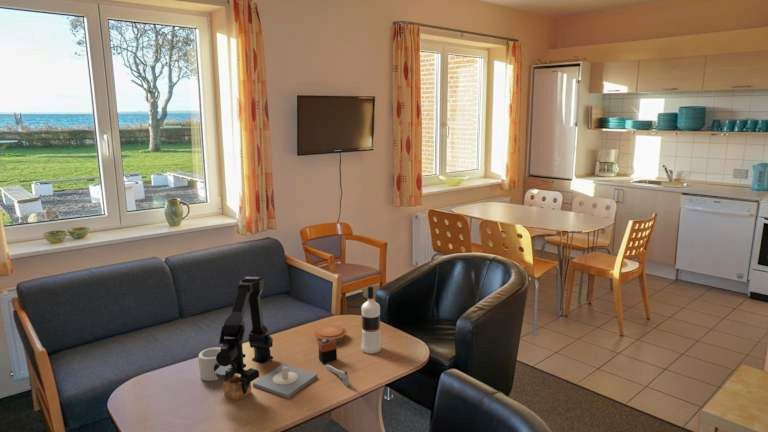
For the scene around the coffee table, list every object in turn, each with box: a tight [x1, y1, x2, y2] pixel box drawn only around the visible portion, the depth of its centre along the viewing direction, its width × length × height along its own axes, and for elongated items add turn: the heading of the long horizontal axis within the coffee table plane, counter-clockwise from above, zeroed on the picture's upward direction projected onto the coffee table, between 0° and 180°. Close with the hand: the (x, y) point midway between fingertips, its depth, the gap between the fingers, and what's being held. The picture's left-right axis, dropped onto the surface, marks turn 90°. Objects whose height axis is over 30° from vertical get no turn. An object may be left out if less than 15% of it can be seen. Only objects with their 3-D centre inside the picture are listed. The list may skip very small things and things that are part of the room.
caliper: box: [324, 363, 350, 388], centre depth 213 cm, size 20×1×6 cm, turn 31°
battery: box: [318, 338, 338, 365], centre depth 225 cm, size 4×7×10 cm, turn 120°
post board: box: [252, 363, 318, 399], centre depth 208 cm, size 18×18×6 cm
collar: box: [223, 374, 252, 401], centre depth 200 cm, size 7×7×6 cm
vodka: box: [360, 286, 383, 355], centre depth 233 cm, size 9×9×30 cm
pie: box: [313, 324, 347, 344], centre depth 247 cm, size 16×16×5 cm
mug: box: [197, 346, 222, 382], centre depth 215 cm, size 14×11×10 cm
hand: (237, 391), depth 200 cm, fingers closed on collar, 7 cm apart
